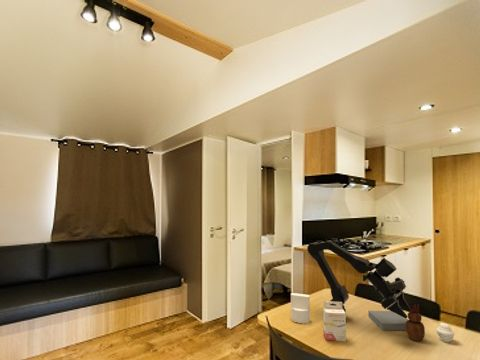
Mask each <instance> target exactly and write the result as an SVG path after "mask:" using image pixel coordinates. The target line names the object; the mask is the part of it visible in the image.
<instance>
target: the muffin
mask: <svg viewBox="0 0 480 360" xmlns="http://www.w3.org/2000/svg"><path fill="white" fill-rule="evenodd" d="M436 333H437V336H438V337H439V338H440V341H442V342H445V343H451V342H452V340H453V339H454V336H455V332H454V331H453V330H452V328H451V326H450V325H449V324H447V323H444V322H442V323H440V324H439V326H438V327H436Z"/></svg>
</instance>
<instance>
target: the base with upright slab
mask: <svg viewBox="0 0 480 360" xmlns="http://www.w3.org/2000/svg"><path fill="white" fill-rule="evenodd" d="M310 307H311V306H310V294H304V293H297V292H292V293H290V313H291V316H290V318H291V319H292V320H293V321H294V322H293V321H292V320H291V319H290V320H291V321H292V322H293V323H295V322H298V323H297V324H299V323H306V324H308V322H309V321H310V322H311V319H310V317H311V315H310V314H311V312H310V311H311V310H310ZM310 322H309V323H310Z"/></svg>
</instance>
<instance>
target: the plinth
mask: <svg viewBox="0 0 480 360" xmlns="http://www.w3.org/2000/svg"><path fill="white" fill-rule="evenodd" d="M367 315H368V318H369V319H370V320H371V321H372V322H373V323H374V324H375V325H376V326H377V327H379V328H380V329H381V331H406V322H407V321H408V320H409V319H408V317H407V318H404V317H402V316H400V315H398V314H396V313H394V312H392V311H390V310H368V314H367Z"/></svg>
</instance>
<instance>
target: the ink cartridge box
mask: <svg viewBox="0 0 480 360" xmlns="http://www.w3.org/2000/svg"><path fill="white" fill-rule="evenodd" d="M330 304H336V306H333V305H330ZM322 309H323V311H322V312H323V319H322V321H323V336H324V339H325V341H333V340H334V341H335V342H346V341H347V317H346V316H347V313H345V312H344V310H343V309H342V302H332V301H330V300H329V301H327V300H326V301H323V308H322Z"/></svg>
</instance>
